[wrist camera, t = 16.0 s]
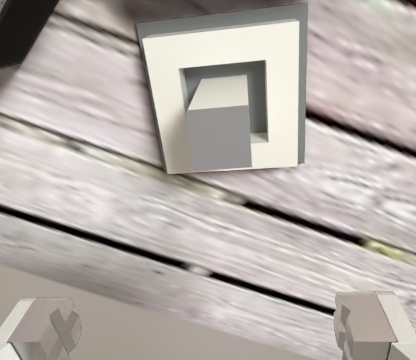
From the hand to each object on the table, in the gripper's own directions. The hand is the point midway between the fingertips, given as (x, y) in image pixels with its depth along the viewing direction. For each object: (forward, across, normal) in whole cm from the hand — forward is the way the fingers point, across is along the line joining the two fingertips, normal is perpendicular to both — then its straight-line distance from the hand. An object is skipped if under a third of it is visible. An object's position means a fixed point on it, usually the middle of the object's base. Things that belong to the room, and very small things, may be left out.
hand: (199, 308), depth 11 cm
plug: (+24, 0, 0) cm, 24 cm away
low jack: (+24, 0, 0) cm, 24 cm away
